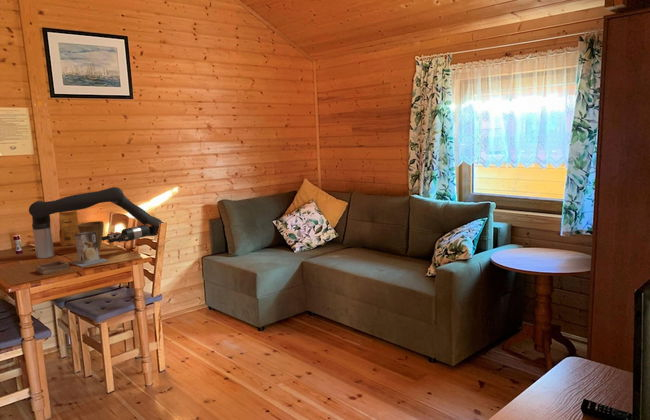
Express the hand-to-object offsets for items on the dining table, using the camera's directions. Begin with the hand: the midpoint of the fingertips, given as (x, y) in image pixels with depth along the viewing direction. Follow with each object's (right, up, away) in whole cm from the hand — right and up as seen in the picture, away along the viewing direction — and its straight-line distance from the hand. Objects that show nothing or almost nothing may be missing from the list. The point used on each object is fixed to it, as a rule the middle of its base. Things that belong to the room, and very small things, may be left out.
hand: (105, 240), depth 282 cm
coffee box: (-6, -12, -6) cm, 15 cm away
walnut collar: (-19, -15, -20) cm, 31 cm away
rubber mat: (-6, -12, -6) cm, 15 cm away
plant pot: (-20, -7, +28) cm, 35 cm away
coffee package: (-42, -5, +43) cm, 60 cm away
